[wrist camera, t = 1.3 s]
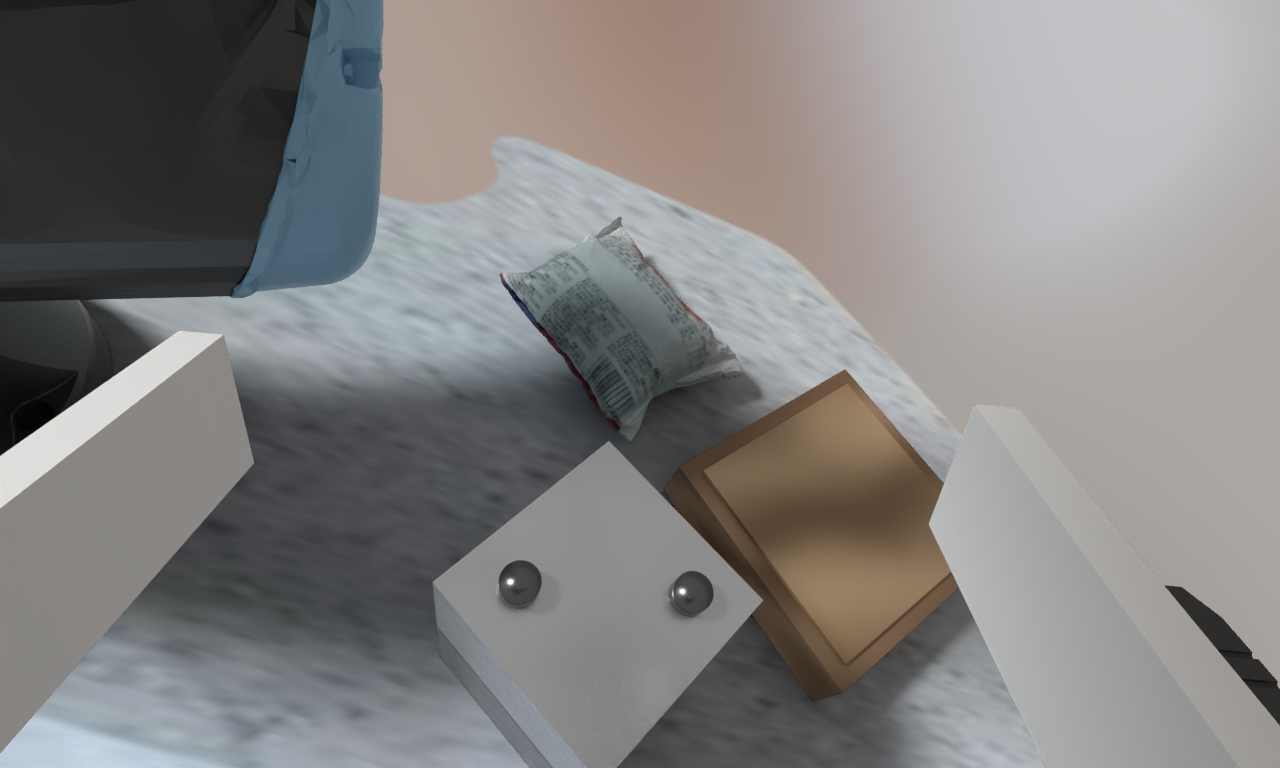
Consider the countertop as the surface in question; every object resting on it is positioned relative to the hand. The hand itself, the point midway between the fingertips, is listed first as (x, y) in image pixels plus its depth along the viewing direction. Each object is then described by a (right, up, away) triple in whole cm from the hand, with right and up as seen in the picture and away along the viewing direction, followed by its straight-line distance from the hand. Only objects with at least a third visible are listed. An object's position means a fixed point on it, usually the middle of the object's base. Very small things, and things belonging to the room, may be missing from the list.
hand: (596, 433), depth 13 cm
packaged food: (-1, +3, +28) cm, 28 cm away
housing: (-3, -11, +18) cm, 21 cm away
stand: (+10, -7, +24) cm, 27 cm away
